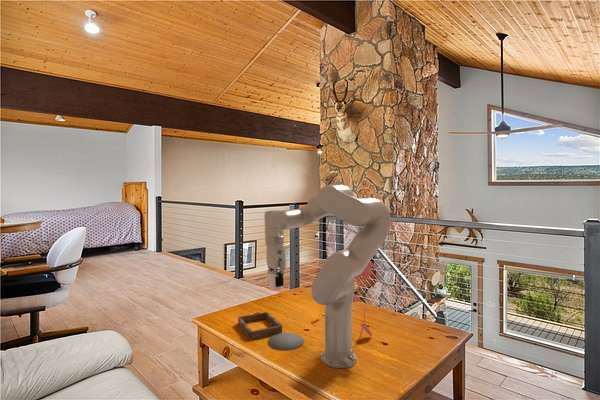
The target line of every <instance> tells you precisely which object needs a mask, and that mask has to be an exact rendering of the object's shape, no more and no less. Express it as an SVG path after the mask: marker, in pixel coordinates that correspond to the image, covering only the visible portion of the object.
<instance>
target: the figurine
mask: <svg viewBox="0 0 600 400" xmlns="http://www.w3.org/2000/svg"><path fill="white" fill-rule="evenodd" d="M372 268H374V263H373V262H372V261H371V260H370V262H369V263H368V265H367V266H366V268H365V269H364V271H363V272H362V273H361V274H359V275H358V276H355V277H354V278H355V279H354V283H356V284H358V288H357V293H356V295H354V296H353V301H354V302H355V303H358V302H359V303H360V305H361V306H362V307H363V309H364V311H363V323H360V322H355V324H356V325H357V324H358V325H360V326H361V330H360V333H359V336H358V340H359V341H360V340H361V338H362V334H363V331H364V332H366V333H367V334H368V335H369V336H370V337H371V338H372V337H373V334H372V332H371V330H370V329H369V328H368V327H370V328H372V329H375V330H376V331H378V329H377V328H375V327H372V326H371V325H369V324H368V325H367V324H365V320H366V308H365V306H364V305H363V303H362V302H361V300H360V297H359V292H360V291H359V290H360V288H361V287H363V285H364V284H365V282H366V281H367V279H368V278H369V277H370V276H371V275H372V276H373V277H374V278H375V279H376V280H377V281H378V282H380V283H381V285H383V286H385V284H384V283H383V281H382V280H381V279H380V278H379V277H378V276H377V275H376V274H375V273H374V272H373V270H372ZM360 278H362V279H363V281H362V282H359V281H357V280H359V279H360ZM371 345H372V343H371V344H369V346H371Z"/></svg>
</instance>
